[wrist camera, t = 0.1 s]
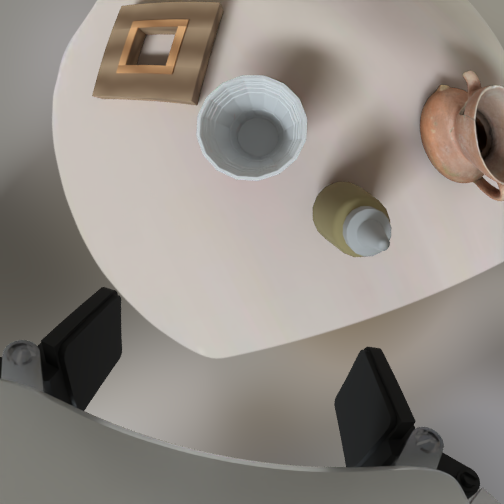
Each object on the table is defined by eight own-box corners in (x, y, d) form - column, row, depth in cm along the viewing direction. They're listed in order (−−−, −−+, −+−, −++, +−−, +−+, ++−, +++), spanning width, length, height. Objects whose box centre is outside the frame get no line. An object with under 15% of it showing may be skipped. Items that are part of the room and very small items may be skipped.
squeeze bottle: (304, 231, 40) (326, 283, 23) (313, 174, 38) (347, 184, 21) (357, 240, 40) (409, 294, 23) (368, 185, 38) (433, 205, 21)
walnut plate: (129, 13, 31) (120, 5, 28) (223, 11, 31) (219, 1, 28) (102, 98, 36) (91, 95, 33) (197, 105, 36) (190, 100, 33)
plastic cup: (227, 91, 35) (209, 64, 24) (305, 110, 35) (319, 88, 24) (208, 165, 38) (182, 167, 27) (285, 184, 39) (291, 194, 27)
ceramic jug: (394, 93, 33) (444, 72, 20) (460, 77, 30) (514, 62, 17) (433, 206, 38) (488, 230, 25) (491, 179, 35) (548, 193, 22)
